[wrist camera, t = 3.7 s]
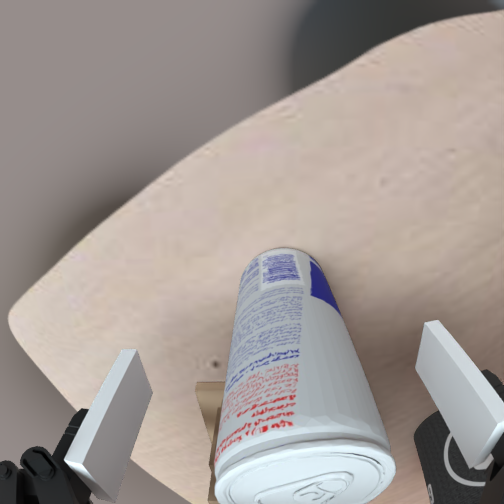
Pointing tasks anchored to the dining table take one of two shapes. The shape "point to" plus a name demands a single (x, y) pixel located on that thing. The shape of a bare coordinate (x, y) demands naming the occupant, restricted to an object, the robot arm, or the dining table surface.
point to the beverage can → (296, 396)
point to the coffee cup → (447, 465)
